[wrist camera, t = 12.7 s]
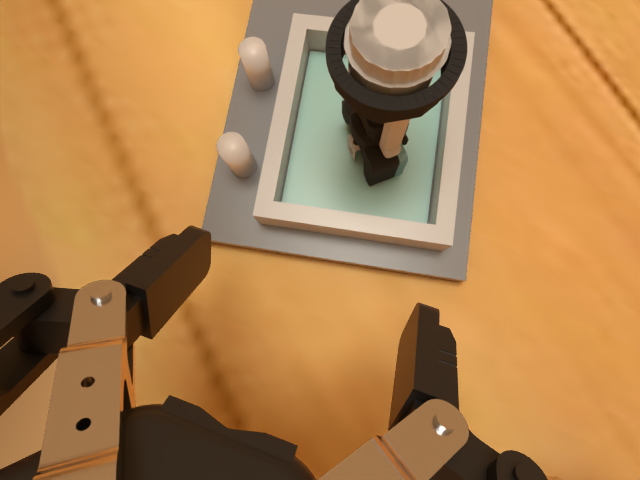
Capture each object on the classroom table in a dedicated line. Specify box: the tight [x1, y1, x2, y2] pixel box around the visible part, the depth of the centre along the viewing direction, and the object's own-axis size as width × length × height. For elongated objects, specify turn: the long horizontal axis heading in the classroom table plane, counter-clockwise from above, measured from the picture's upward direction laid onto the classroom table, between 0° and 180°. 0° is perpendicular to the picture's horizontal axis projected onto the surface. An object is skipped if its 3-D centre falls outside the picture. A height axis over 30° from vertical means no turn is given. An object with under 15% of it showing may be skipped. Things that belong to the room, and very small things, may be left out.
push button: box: [325, 0, 467, 186], centre depth 18 cm, size 7×5×10 cm
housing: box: [202, 0, 493, 282], centre depth 23 cm, size 16×20×4 cm
